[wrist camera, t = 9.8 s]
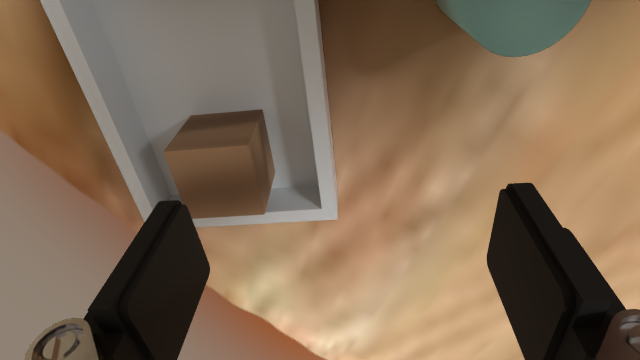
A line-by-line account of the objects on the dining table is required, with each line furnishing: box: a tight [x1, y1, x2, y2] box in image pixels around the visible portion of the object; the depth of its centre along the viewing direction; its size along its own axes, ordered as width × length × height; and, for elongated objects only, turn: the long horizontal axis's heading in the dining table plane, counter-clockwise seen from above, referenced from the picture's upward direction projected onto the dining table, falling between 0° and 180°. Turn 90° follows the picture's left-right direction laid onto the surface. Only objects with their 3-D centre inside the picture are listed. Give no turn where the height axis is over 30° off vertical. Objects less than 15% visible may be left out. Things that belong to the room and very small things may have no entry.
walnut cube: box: [163, 109, 275, 219], centre depth 25 cm, size 5×5×5 cm
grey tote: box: [40, 0, 338, 228], centre depth 24 cm, size 18×14×4 cm
